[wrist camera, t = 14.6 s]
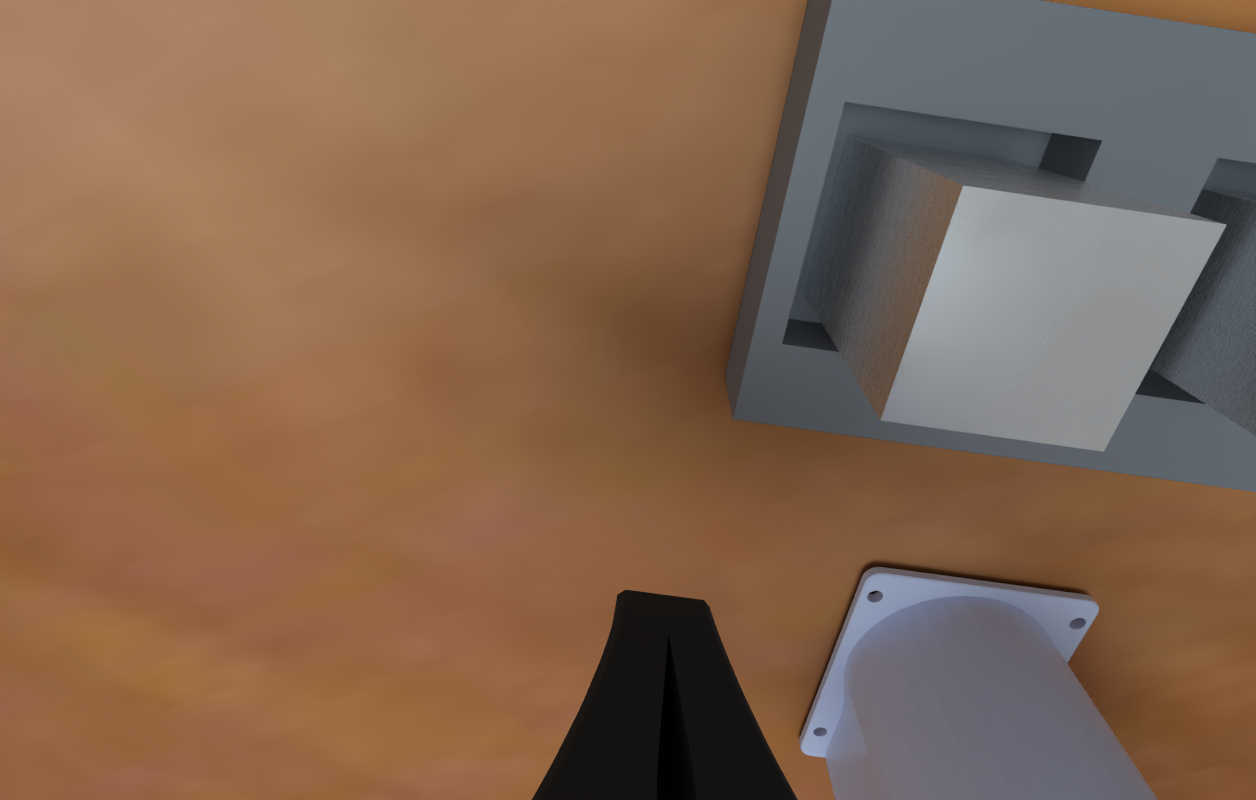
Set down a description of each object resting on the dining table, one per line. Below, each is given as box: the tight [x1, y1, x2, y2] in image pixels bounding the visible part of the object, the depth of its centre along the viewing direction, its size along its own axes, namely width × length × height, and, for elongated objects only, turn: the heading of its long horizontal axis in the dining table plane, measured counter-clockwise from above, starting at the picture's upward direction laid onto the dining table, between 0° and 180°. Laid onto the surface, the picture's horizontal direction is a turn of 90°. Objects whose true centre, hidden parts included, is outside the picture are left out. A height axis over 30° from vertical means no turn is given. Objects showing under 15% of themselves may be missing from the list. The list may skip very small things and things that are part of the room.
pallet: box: [725, 0, 1256, 492], centre depth 17 cm, size 10×15×3 cm, turn 83°
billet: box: [804, 135, 1227, 452], centre depth 14 cm, size 4×4×7 cm
